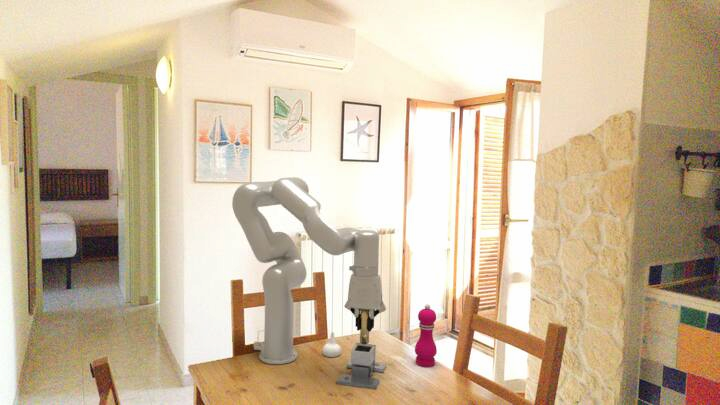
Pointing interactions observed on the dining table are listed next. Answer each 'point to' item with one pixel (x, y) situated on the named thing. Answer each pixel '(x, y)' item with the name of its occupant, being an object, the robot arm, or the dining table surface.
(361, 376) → the fixed leaf
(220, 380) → the dining table surface
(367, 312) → the hinge pin
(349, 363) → the square tube bracket
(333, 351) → the garlic bulb
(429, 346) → the pepper mill
